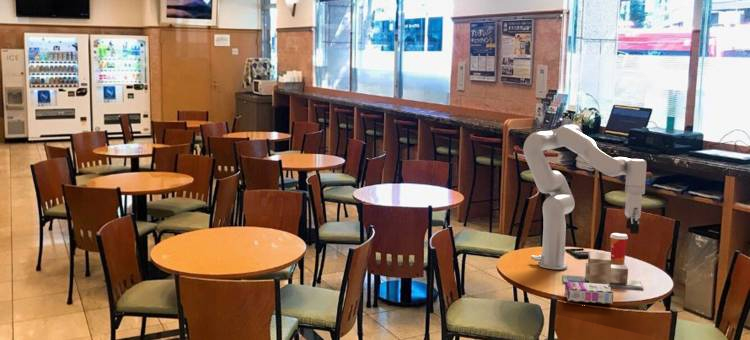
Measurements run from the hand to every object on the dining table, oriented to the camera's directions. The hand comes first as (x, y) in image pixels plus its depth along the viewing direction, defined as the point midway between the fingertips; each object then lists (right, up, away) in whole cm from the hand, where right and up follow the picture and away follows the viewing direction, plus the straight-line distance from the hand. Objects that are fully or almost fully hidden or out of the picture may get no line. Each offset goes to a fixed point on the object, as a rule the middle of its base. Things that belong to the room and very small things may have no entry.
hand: (632, 231), depth 291 cm
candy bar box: (-32, -22, -18) cm, 43 cm away
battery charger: (-9, -18, +43) cm, 47 cm away
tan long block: (-12, -22, +2) cm, 25 cm away
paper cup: (+5, -19, +34) cm, 39 cm away
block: (-10, -20, +2) cm, 23 cm away
